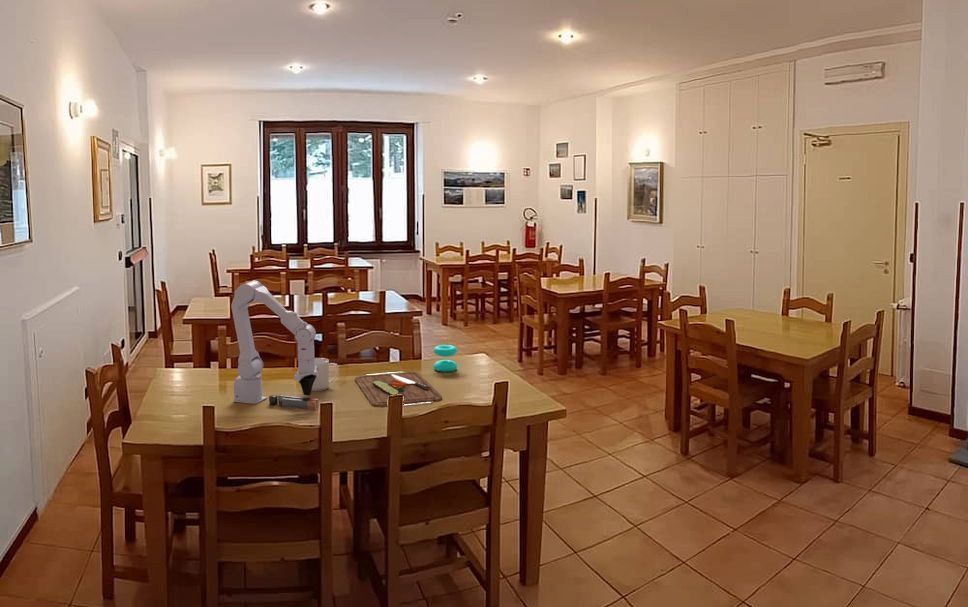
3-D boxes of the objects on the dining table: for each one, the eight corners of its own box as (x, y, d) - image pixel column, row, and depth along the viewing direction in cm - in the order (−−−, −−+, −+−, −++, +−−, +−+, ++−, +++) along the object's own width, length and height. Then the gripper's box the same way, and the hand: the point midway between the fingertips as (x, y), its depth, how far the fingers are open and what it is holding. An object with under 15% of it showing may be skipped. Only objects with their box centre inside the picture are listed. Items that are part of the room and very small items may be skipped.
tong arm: (277, 404, 272) (276, 396, 271) (280, 402, 274) (280, 394, 274) (316, 408, 268) (316, 400, 267) (319, 406, 270) (319, 398, 269)
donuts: (458, 349, 317) (435, 350, 315) (458, 372, 319) (435, 373, 317) (455, 343, 327) (432, 344, 325) (455, 366, 328) (432, 366, 327)
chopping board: (352, 377, 310) (352, 370, 310) (415, 372, 319) (415, 365, 319) (374, 410, 268) (374, 402, 268) (446, 403, 277) (446, 395, 277)
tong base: (267, 405, 272) (267, 397, 271) (272, 402, 275) (271, 394, 274) (315, 410, 267) (314, 402, 266) (319, 407, 270) (318, 399, 269)
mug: (305, 392, 288) (304, 363, 286) (307, 385, 297) (306, 358, 295) (337, 390, 290) (336, 362, 288) (337, 384, 299) (337, 357, 297)
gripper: (306, 364, 264) (307, 401, 267) (325, 355, 278) (326, 390, 281) (288, 362, 266) (289, 399, 269) (308, 353, 280) (309, 388, 282)
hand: (307, 394), depth 275 cm, fingers closed
